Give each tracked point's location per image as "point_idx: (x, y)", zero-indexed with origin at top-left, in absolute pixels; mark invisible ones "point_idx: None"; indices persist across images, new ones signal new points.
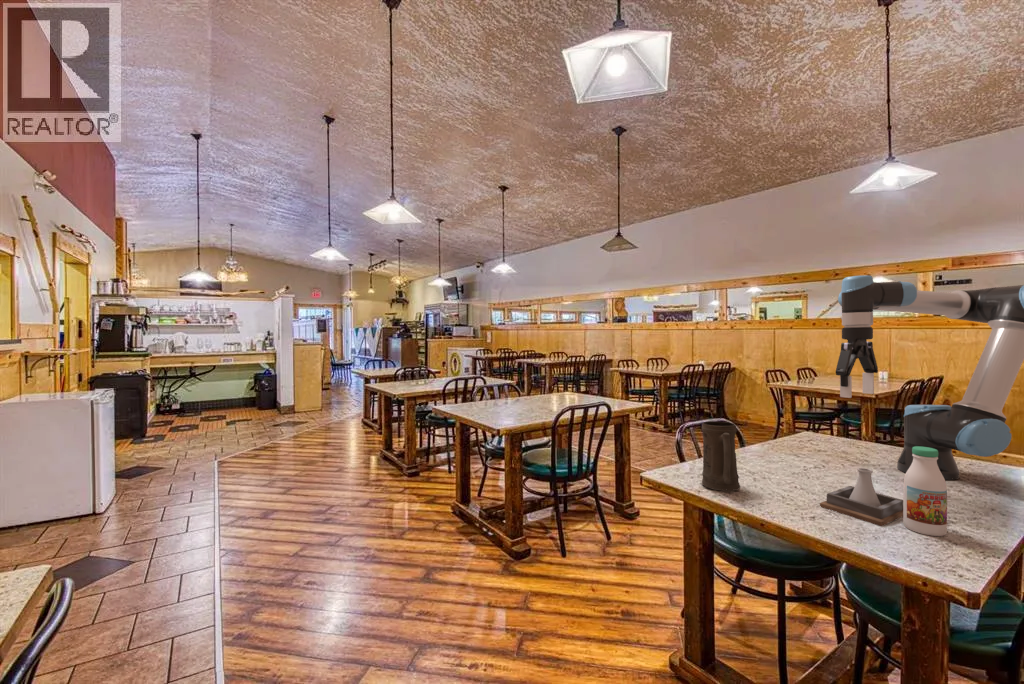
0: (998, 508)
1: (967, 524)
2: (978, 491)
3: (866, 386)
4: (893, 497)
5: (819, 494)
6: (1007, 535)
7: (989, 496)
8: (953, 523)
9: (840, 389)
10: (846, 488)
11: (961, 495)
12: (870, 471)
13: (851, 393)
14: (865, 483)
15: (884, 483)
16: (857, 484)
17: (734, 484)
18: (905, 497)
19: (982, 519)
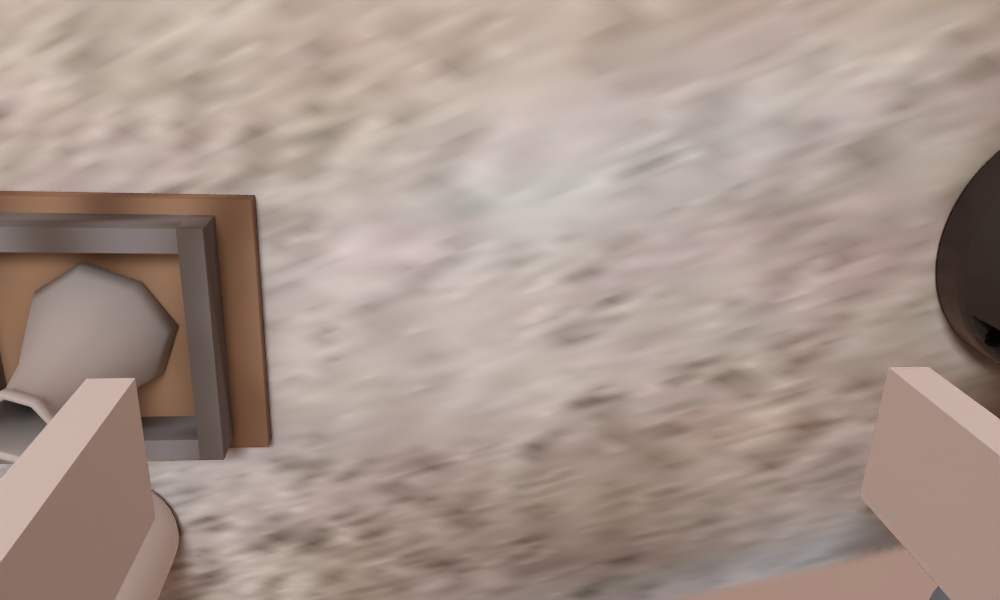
0: (658, 565)
1: (339, 574)
2: (863, 465)
3: (953, 489)
4: (217, 422)
5: (106, 89)
6: None
7: (814, 506)
8: (301, 550)
9: (21, 462)
10: (131, 239)
11: (737, 451)
12: (7, 461)
13: (126, 566)
14: (20, 404)
15: (654, 200)
16: (20, 359)
17: None
18: None
19: (454, 579)
